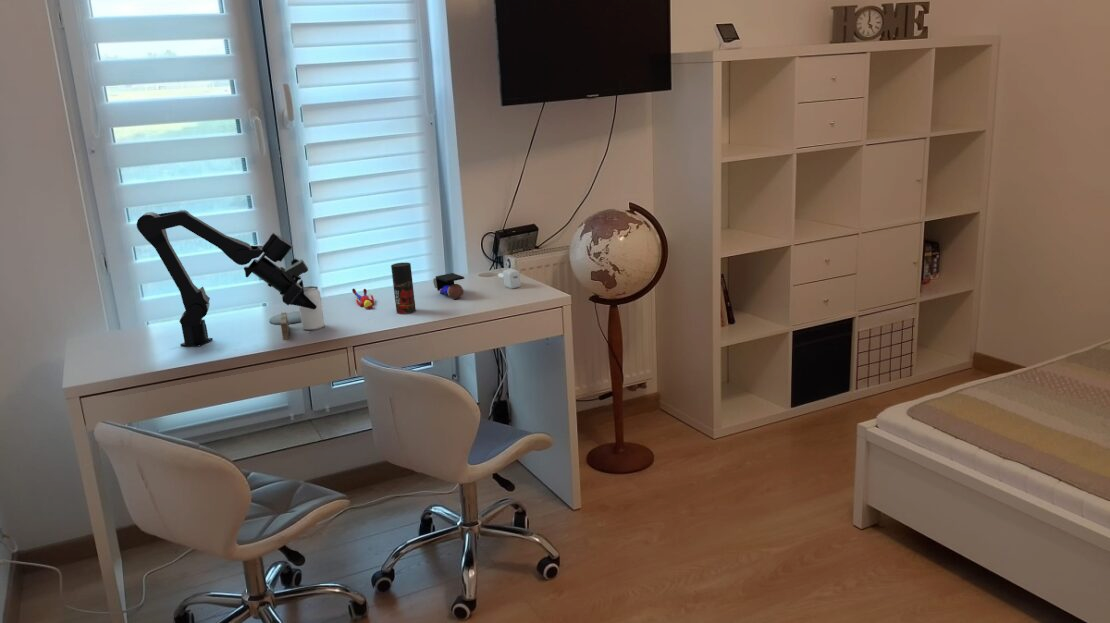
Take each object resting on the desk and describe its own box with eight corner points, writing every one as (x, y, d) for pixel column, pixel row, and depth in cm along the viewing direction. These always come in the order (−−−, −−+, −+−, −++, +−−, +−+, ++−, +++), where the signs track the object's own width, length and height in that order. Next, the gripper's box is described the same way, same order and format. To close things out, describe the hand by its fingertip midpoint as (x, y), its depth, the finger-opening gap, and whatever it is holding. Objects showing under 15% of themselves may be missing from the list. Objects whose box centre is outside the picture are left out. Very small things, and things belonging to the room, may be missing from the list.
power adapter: (494, 284, 294) (493, 267, 292) (506, 281, 296) (505, 265, 295) (510, 289, 284) (508, 272, 283) (522, 287, 287) (521, 270, 285)
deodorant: (393, 313, 263) (387, 266, 259) (402, 308, 269) (396, 262, 265) (410, 314, 262) (405, 266, 258) (418, 309, 267) (413, 262, 263)
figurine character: (433, 297, 287) (449, 301, 274) (430, 275, 286) (445, 277, 272) (452, 294, 290) (468, 297, 277) (449, 272, 289) (465, 274, 275)
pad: (298, 324, 258) (298, 322, 258) (261, 324, 261) (260, 322, 261) (320, 313, 270) (320, 311, 270) (284, 313, 273) (283, 311, 273)
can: (318, 330, 250) (313, 290, 247) (298, 330, 252) (292, 291, 248) (328, 324, 256) (323, 285, 253) (308, 324, 258) (303, 285, 255)
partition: (288, 338, 244) (286, 323, 242) (283, 339, 243) (280, 324, 242) (288, 326, 257) (286, 312, 256) (283, 327, 256) (281, 312, 255)
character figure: (365, 282, 289) (373, 294, 270) (371, 293, 290) (379, 306, 272) (350, 289, 287) (356, 302, 269) (355, 301, 289) (362, 314, 270)
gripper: (288, 257, 238) (334, 290, 244) (288, 247, 256) (331, 278, 261) (263, 288, 238) (309, 321, 244) (265, 275, 255) (308, 306, 261)
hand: (315, 305), depth 253 cm, fingers closed on can, 6 cm apart
